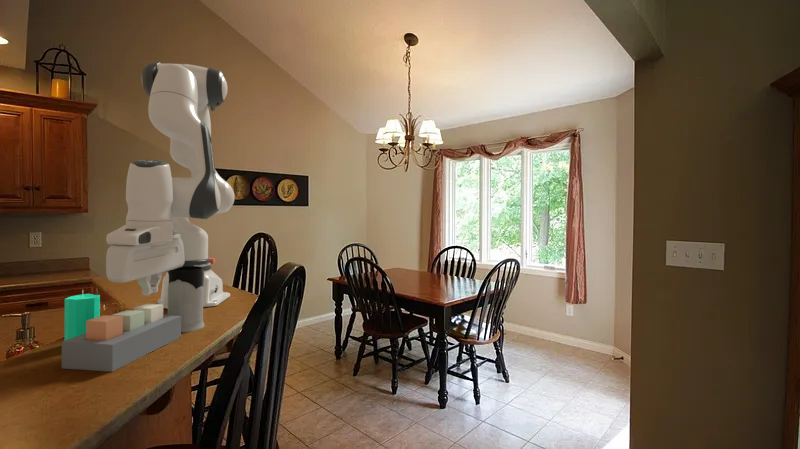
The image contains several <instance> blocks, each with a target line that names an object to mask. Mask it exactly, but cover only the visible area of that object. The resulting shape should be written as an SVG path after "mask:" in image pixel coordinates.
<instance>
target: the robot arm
mask: <svg viewBox="0 0 800 449" xmlns="http://www.w3.org/2000/svg"><path fill="white" fill-rule="evenodd" d="M226 80H227V79H226V78H225V75H224V74H223V72H222V71H221V70H220V69H219V70H218V69H215V68H213V67H204V66H200V65H194V64H188V63H161V62H159V61H157V62H150V63H147V64H146V65H145V66H144V67H143V69H142V73H141V84H142V87H143V90H144V93H145V94H146V95H148V97H149V99H148V109H147V110H148V118H149V121H150V122H151V124H152V125H153V127H154V128H155V129H156V130H157V131H158V132H160V133H161V134H163V135H164V136H166V137H168V138H169V139H170V142H169V154H170V158H171V159H172V160H173V161H174V162H175V163H177V164H178V165H180V166H181V167H183V168H186V169H188V170H189V171H190V173H191V174H190V175H191V177H178V176H177V177H176V176H175V177H173V176H172V171H171V166H170V164H169V163H168V162H167V161H163V160H156V159H140V160H139V159H137V160H134V161H132V162H130V163H129V167H128V170H127V175H126V186H125V201H126V204H127V214H126V217H125V224H124V225H122V226H121V227H119V228H117V229H116V230H113V231H111V232H109V233H107V235H106V238H105V240H106V243H107V245H109V247H108V248H107V250H106V256H105V257H106V258H105V273H106V277H107V279H108V281H109V282H113V283H127V282H131V281H135V280H137V283H138V284H139V286H140V288H141V295H142V296H145V297H146V296H152V295H154V294H157V293H158V292H159V285H160V283H161V280H162V283H161V285H162V286H161V292H160V298H159V299H157V304H163V309H167V310H168V285H169V270H173V269H177V268H180V267H183V266H198V267H203V270H204V287H203V308H206V307H207V308H208V307H216V306H218V305H220V304H221V303H222V302H224V301H225V300H227V299H228V298H230V297H231V293H230V292H227V291H224V290H223V289H224V287H223V286H224V284H223V279H222V278H221V277H219V275H217V274H216V273H215V272H214V271H213V270H212V265H215V263H216V259H215V258H214V257H209V235H208V233H207V232H206V230H204V229H203V228H201V227H200V226H198V225H196V224H194V223H191V221H189V218H192V219H200V220H208V219H209V218H211V217H212V216H214V215H217V214H223V213H227V212H228V211H230V209H231V208H232V207H233V205H234V202H235V192H234V188H233V187H232V186H231V184H229V182H228V181H226V180H225V179H224V178H222V176H220V174H219V173H218V171H217V170H216V165H215V159H214V158H215V157H214V150H213V144H212V122H211V116H210V110H211V112H215V110H216V108H218V107H220V106H221V105H222V104H224V102H225V101H226V97H227V94H228V82H227V81H226ZM209 107H210V109H209ZM163 273H165V274H164V276H163Z"/></svg>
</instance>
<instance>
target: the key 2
mask: <svg viewBox="0 0 800 449" xmlns="http://www.w3.org/2000/svg"><path fill="white" fill-rule="evenodd" d="M133 310H137V311H145V312H144V323H152V322H155V321H157V320H160V319H162V318H163V315H164V308H163V304H159V303H144V304H141V305H138V306H134V307H133Z"/></svg>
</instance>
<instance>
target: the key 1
mask: <svg viewBox="0 0 800 449" xmlns="http://www.w3.org/2000/svg"><path fill="white" fill-rule="evenodd" d="M122 334H123V316H112V315H105V314H103V315H100V317H97V318H93V319H90V320H87V321H86V340H100V341H107V340H110V339H112V338H115V337H117V336H120V335H122Z"/></svg>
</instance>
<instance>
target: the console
mask: <svg viewBox="0 0 800 449" xmlns="http://www.w3.org/2000/svg"><path fill="white" fill-rule="evenodd" d="M181 337H182V333H181V316H172V315H168V314H167V315H166V314H163V318H162V319H160V320H157V321H155V322H152V323H144V326H142V327H140V328H137V329H135V330H132V331H123V334H122V335H120V336H117V337H115V338H112V339H110V340H107V341H100V340H86V333H85V334H82V335H79V336H76V337H73V338H70V339H68V340H65V339H64V340H63V341H61V369H67V370H68V369H69V370H81V371H82V370H83V371H96V372H97V371H98V372H112V373H113V372H114V371H115V372H116V371H117V370H119V369H121V368H124V367H125V366H126V365H129V364H131V363H133V362H134V361H136V360H139V359H140V358H142V357H145V356H146V354H147V355H149V354H150V352H151V353H152V351H153V352H154V350H155V351H157V350H158V348H159V349H161V348H162V346H163V347H164V345H165V346H166V344H167V345H169V344H171V343H172V342H174V341H177V340H178V339H180V338H181ZM160 347H161V348H160ZM156 349H157V350H156ZM148 353H149V354H148Z"/></svg>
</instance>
